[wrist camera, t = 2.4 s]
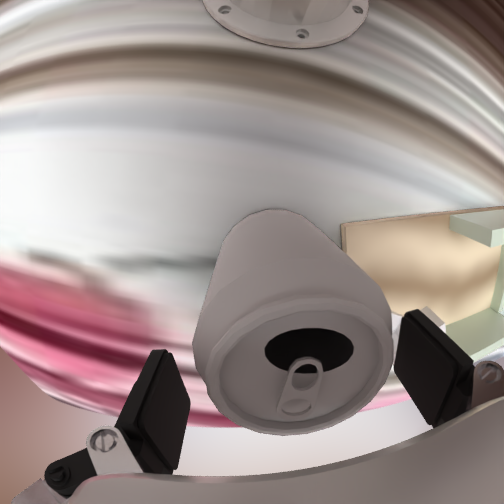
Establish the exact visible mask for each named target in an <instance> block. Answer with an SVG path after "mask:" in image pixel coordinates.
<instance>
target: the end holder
mask: <svg viewBox="0 0 504 504" xmlns="http://www.w3.org/2000/svg"><path fill="white" fill-rule="evenodd" d="M449 230H451V231H454V232H456V233H459V234H461V235H463V236H466V237H468V238H470V239H473V240H475V241H477V242H479V243H481V244H484V245H486V246H488V247H490V248H491V247H495V246H499V245H502V247H501V255H500V261H499V268H498V273H497V279H496V284H495V288H494V293H493V297H492V301H491V305H490V308H487V309H485V310H483V311H481V312H478V313H476V314H474V315H471V316H469V317H466V318H464V319H461V320H459V321H456V322H454V323H451V324H448V325H446V326H445V327H446V334H447V335H448V336H449V337H450V338H451V339H452V340H453V341H454V342H455V343H456V344H457V345H458V346H459V347H460V348H461V349H462V350H463V351H464V352H465V353H466V354H468V355H469V356H470V357H471V358H472V359H473V360H474V362H476V361H478V360H479V359H481V358H483V357H485V356H487V355H488V354H490V353H492V352H494V351H495V350H497V349H499V348H500V347H502V346H503V345H504V316H503V315H502V314H500V313H499V312H501V311H503V308H504V209H500V210H490V211H481V212H472V213H463V214H454V215H450V226H449ZM474 362H473V363H474Z"/></svg>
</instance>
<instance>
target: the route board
mask: <svg viewBox="0 0 504 504" xmlns="http://www.w3.org/2000/svg"><path fill="white" fill-rule="evenodd" d="M500 209H504V206H498V207H488V208H477V209H467V210H457V211H447V212H438V213H428V214H419V215H410V216H401V217H393V218H384V219H376V220H367V221H359V222H351V223H343V224H341V234H342V251H344V252H345V253H346V254H347V255H348V256H349V257H350V258H351V259H352V260H353V261H354V262H355V263H356V264H357V265H358V266H359V267H360V268H361V269H362V270H363V271H365V272H366V273H367V274H368V275H369V276H370V277H371V278H372V279H373V280H374V281H375V282H376V283H377V284H378V285H379V286H380V288H381V290H382V292H383V294H384V296H385V298H386V300H387V302H388V304H389V306H390V308H391V311H393V312H395V313H398V314H401V315H404V314H405V313H406V312H408V311H412V310H415V309H419V310H421V309H423V308H424V307H426V306H427V307H428V308H430V309H431V310H432V311H433V312H434V313H435V314H436V315H437V316H438V317H439V318H440V319H441V320H442V321H443V322H445V326H446V325H448V324H451V323H454V322H456V321H459V320H461V319H464V318H466V317H469V316H471V315H474V314H476V313H478V312H481V311H483V310H485V309H487V308H490V305H491V301H492V297H493V293H494V288H495V284H496V279H497V273H498V268H499V261H500V255H501V247H502V245H499V246H495V247H491V248H490V247H488V246H486V245H484V244H481V243H479V242H477V241H475V240H473V239H470V238H468V237H466V236H463V235H461V234H459V233H456V232H454V231H451V230H449V226H450V215H454V214H463V213H472V212H481V211H490V210H500Z"/></svg>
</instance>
